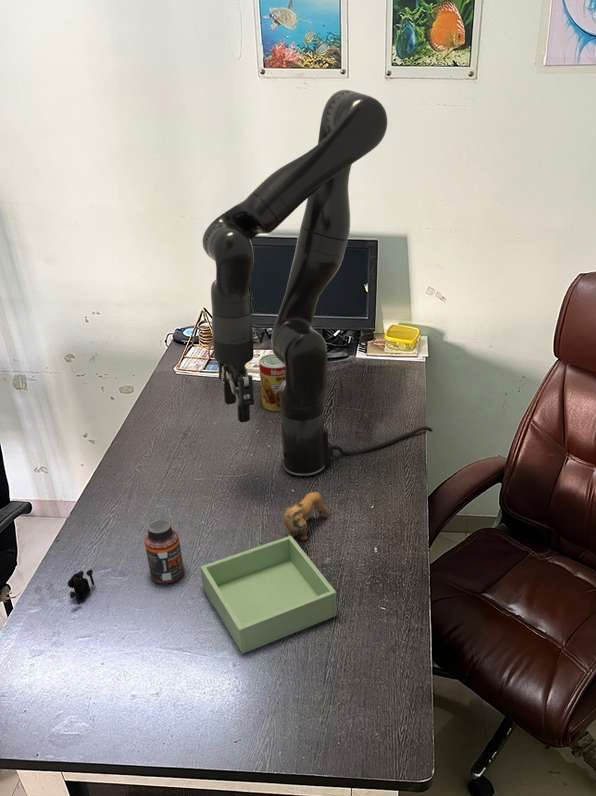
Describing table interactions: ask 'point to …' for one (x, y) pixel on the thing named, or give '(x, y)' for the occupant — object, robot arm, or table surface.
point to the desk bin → (268, 593)
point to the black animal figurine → (80, 585)
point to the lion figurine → (303, 513)
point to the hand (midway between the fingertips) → (237, 411)
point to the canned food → (271, 381)
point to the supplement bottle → (163, 552)
